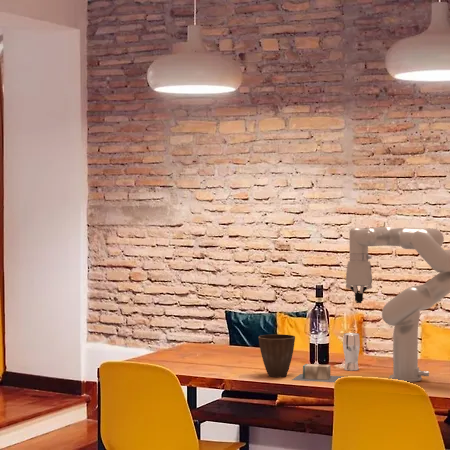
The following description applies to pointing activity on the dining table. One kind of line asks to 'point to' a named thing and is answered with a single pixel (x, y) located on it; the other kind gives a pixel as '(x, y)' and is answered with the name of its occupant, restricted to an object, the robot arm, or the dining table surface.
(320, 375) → the capped block
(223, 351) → the dining table surface
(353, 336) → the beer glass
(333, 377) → the rubber mat
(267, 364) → the plant pot
